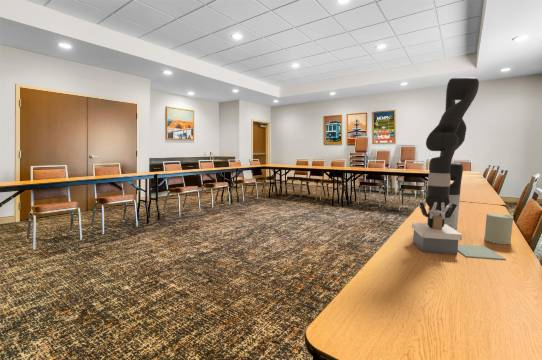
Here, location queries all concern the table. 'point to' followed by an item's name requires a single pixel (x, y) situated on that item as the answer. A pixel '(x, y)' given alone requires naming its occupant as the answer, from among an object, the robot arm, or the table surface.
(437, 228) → the lid
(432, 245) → the box
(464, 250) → the mat
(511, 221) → the can
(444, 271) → the table surface
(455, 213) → the supplement tub
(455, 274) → the table surface
